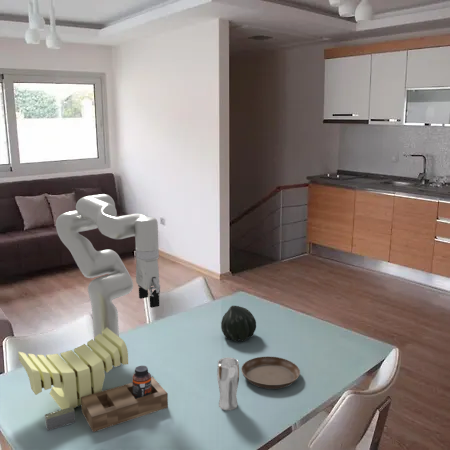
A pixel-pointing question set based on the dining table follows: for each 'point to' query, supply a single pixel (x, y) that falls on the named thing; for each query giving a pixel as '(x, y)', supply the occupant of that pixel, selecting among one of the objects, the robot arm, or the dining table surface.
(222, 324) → the squash
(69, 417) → the grey stone block
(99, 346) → the slatted curved stool
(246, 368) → the plant saucer
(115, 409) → the socket block
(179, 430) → the dining table surface
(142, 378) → the supplement bottle
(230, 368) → the beer glass
